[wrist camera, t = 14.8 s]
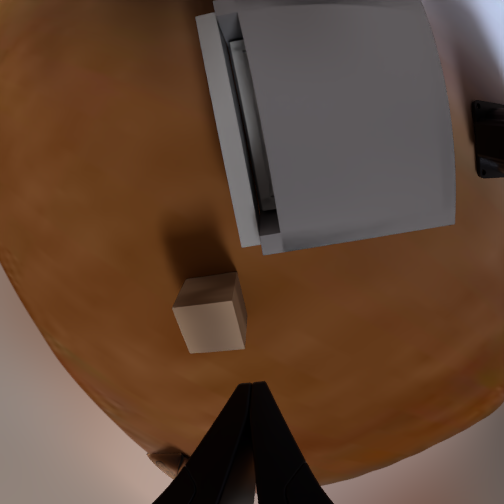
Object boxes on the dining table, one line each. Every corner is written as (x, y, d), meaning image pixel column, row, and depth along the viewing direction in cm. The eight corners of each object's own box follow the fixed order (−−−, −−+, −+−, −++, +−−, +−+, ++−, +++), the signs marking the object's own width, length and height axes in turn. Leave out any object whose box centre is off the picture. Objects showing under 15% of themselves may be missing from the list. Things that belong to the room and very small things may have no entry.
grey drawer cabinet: (382, 28, 14) (420, 0, 8) (408, 199, 18) (454, 223, 13) (226, 38, 15) (212, 1, 9) (262, 220, 20) (263, 255, 14)
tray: (372, 26, 13) (397, 5, 9) (400, 200, 18) (430, 217, 14) (208, 40, 14) (194, 17, 10) (245, 223, 19) (241, 247, 15)
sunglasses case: (141, 453, 34) (150, 483, 28) (175, 435, 37) (187, 464, 31) (199, 491, 41) (211, 514, 35) (227, 475, 43) (241, 498, 37)
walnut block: (236, 271, 21) (232, 300, 17) (247, 315, 23) (244, 348, 19) (185, 279, 21) (172, 307, 18) (199, 321, 23) (190, 353, 19)
